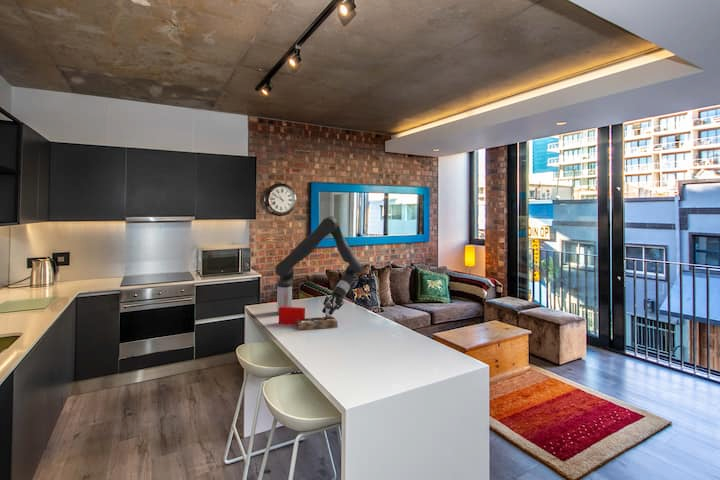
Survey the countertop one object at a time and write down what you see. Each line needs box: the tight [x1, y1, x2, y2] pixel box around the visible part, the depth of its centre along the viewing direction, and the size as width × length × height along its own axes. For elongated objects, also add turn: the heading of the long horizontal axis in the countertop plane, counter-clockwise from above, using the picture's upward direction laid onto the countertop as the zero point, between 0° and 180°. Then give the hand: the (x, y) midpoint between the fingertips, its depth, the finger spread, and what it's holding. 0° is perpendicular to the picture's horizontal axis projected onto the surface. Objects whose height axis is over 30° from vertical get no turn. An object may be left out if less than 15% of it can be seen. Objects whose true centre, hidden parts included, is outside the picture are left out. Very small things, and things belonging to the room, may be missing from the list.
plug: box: [324, 303, 333, 320], centre depth 219 cm, size 5×5×11 cm
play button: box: [278, 306, 306, 326], centre depth 218 cm, size 15×3×10 cm, turn 82°
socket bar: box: [296, 315, 339, 331], centre depth 215 cm, size 22×10×4 cm, turn 109°
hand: (326, 313), depth 217 cm, fingers open, 4 cm apart
